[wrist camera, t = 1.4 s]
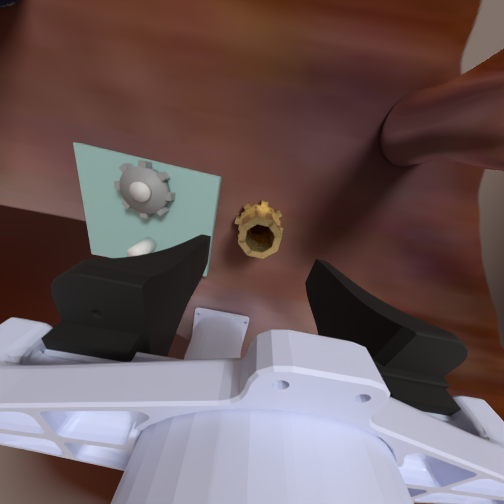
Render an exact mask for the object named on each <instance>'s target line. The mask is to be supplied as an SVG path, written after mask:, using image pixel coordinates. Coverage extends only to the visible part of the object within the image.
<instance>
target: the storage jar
mask: <svg viewBox="0 0 504 504" xmlns="http://www.w3.org/2000/svg"><path fill="white" fill-rule="evenodd" d="M18 1H19V0H0V8H3V7H9V6H11V5H13V4H15V3H17V2H18Z"/></svg>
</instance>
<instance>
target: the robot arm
mask: <svg viewBox="0 0 504 504" xmlns="http://www.w3.org/2000/svg"><path fill="white" fill-rule="evenodd" d="M210 241H211V236H207V235H203V234H201V235H199V236H196V237H194V238H192V239H190V240H188V241H186V242H183V243H181V244H178V245H176V246H173V247H171V248H168V249H164V250H161V251H157V252H153V253H148V254H143V255H138V256H131V257H122V258H112V259H111V258H109V259H85V260H84V261H82V262H81V263H79V264H77V265H76V266H74V267H72V268H71V269H69V270H67V271H66V272H64V273H63V274H61V275H59V276H58V277H56V278H55V280H54V281H53V282H52V286H51V293H52V297H53V300H54V302H55V304H56V307H57V309H58V311H59V314H60V316H61V319H62V321H61V322H60V323H58V324H57V325H56V326H55V327H54V328H53V327H52V326H50V325H49V324H46V323H43V322H37V321H32V320H27V319H21V318H10V319H8V320H7V321H5V322H4V323H2V324H1V325H0V445H4V446H10V447H16V448H21V449H25V450H30V451H36V452H41V453H45V454H49V455H54V456H59V457H63V458H68V459H72V460H77V461H82V462H86V463H91V464H96V465H100V466H105V467H109V468H114V469H119V470H123V471H125V472H124V474H123V476H122V478H121V481H120V483H119V486H118V488H117V490H116V493H115V495H114V497H113V500H112V502H111V504H414V503H413V502H419V503H440V504H441V503H442V504H504V422H503V421H502V419H501V418H500V417H499V416H498V415H497V414H496V413H495V412H494V411H493V409H492V408H491V407H490V406H489V405H488V404H487V403H486V402H485V400H482V399H479V398H473V397H467V396H461V395H456V396H452V397H451V395H450V394H449V393H448V391H447V390H446V389H445V388H448V387H449V383H448V382H447V381H446V380H445V379H444V376H445V375H447V374H448V373H449V372H451V371H452V370H454V369H455V368H456V367H458V366H459V365H460V364H461V363H462V362H463V361H464V360H465V359H466V357H467V352H468V349H467V347H466V345H465V344H464V343H463V342H462V341H461V340H460V339H459V338H458V337H456V336H455V335H454V334H452V333H451V332H449V331H446V330H444V329H441V328H439V327H436V326H434V325H431V324H429V323H426V322H424V321H421V320H419V319H417V318H415V317H413V316H410V315H408V314H406V313H404V312H402V311H400V310H398V309H396V308H394V307H392V306H390V305H388V304H387V303H385V302H383V301H381V300H380V299H378V298H376V297H375V296H373V295H371V294H370V293H368V292H367V291H365V290H364V289H362V288H361V287H359V286H358V285H357V284H355V283H354V282H352V281H351V280H350V279H349V278H347V277H346V276H345V275H343V274H342V273H341V272H340V271H338V270H337V269H336V268H334V267H333V266H332V265H330V264H329V263H327V262H326V261H322V260H318V259H316V261H315V263H314V265H313V267H312V269H311V271H310V274H309V276H308V278H307V280H306V282H305V283H306V291H307V296H308V300H309V303H310V307H311V310H312V313H313V316H314V319H315V323H316V326H317V330H318V335H314V334H309V333H304V332H298V331H293V330H288V329H271V330H268V331H265V332H263V333H260V334H258V335H257V336H256V337H255V338H254V339H253V341H252V342H251V343H250V345H249V348H248V350H247V353H246V355H245V357H244V358H240V355H241V347H242V344H243V340H244V337H245V333H246V330H247V327H248V323H249V317H247V316H243V315H237V314H232V313H226V312H221V311H216V310H210V309H205V308H199V307H198V308H196V309H195V314H194V322H193V331H192V338H191V341H190V344H189V346H188V349H187V352H186V354H185V357H184V360H181V359H175V358H170V357H167V355H168V352H169V350H170V346H171V344H172V341H173V339H174V336H175V333H176V331H177V328H178V326H179V323H180V321H181V318H182V316H183V313H184V311H185V308H186V306H187V304H188V302H189V300H190V298H191V296H192V294H193V292H194V291H195V289H196V287H197V285H198V283H199V281H200V280H201V278H202V276H203V274H204V271H205V269H206V266H207V263H208V257H209V249H210ZM198 313H199V314H198Z"/></svg>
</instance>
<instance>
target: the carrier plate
mask: <svg viewBox="0 0 504 504" xmlns="http://www.w3.org/2000/svg"><path fill="white" fill-rule="evenodd" d="M73 145H74V151H75V157H76V163H77V169H78V175H79V181H80V187H81V193H82V199H83V205H84V211H85V217H86V223H87V229H88V234H89V240H90V247H91V252H92V254H94V255H99V256H105V257H109V258H122V257H131V256H138V255H143V254H148V253H153V252H157V251H161V250H164V249H168V248H171V247H173V246H176V245H178V244H181V243H183V242H186V241H188V240H190V239H192V238H194V237H196V236H199V235H201V234H203V235H207V236H211V241H210V249H209V257H208V263H207V266H206V269H205V271H204V274H203V276H205V277H206V276H207V274H208V269H209V262H210V255H211V248H212V241H213V234H214V227H215V220H216V213H217V206H218V199H219V192H220V185H221V178H222V177H220V176H215V175H211V174H207V173H203V172H199V171H195V170H190V169H186V168H182V167H178V166H174V165H170V164H165V163H161V162H157V161H153V160H149V159H145V158H140V157H136V156H132V155H128V154H124V153H120V152H115V151H111V150H107V149H103V148H99V147H95V146H90V145H86V144H82V143H74V142H73Z"/></svg>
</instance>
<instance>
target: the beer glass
mask: <svg viewBox="0 0 504 504" xmlns="http://www.w3.org/2000/svg"><path fill="white" fill-rule="evenodd" d="M380 144H381V149H382V152H383V154H384V156H385V157H386V159H387V160H388V161H390V162H391V163H393V164H396V165H399V166H410V165H416V164H420V163H424V162H428V161H435V160H439V161H448V162H454V163H459V164H464V165H469V166H475V167H480V168H485V169H491V170H498V171H504V48H503V49H501V50H500V51H498V52H497V53H495V54H494V55H492V56H491V57H489V58H488V59H486V60H485V61H483V62H482V63H480V64H478V65H477V66H475V67H474V68H472V69H470V70H469V71H467V72H466V73H464V74H462V75H461V76H459V77H457V78H455V79H453V80H451V81H448V82H446V83H443V84H440V85H436V86H431V87H426V88H421V89H418V90H416V91H413V92H411V93H410V94H408V95H406V96H405V97H404V98H402V99H401V100H400V101H399V102H398V103H397V104H396V105H395V106H394V107H393V109H392V110H391V111H390V113H389V114H388V116H387V118H386V120H385V122H384V124H383V127H382V131H381V137H380Z"/></svg>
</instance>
